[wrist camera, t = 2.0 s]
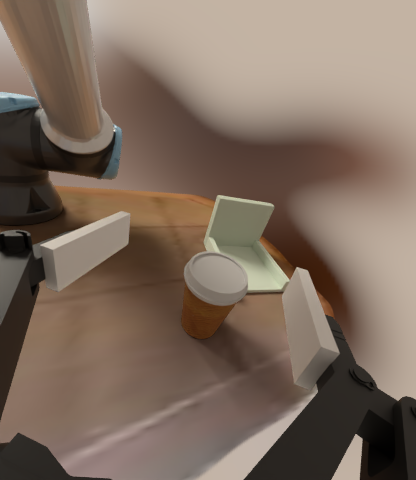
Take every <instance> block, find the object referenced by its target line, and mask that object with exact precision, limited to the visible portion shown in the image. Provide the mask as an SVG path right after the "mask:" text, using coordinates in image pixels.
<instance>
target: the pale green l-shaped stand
mask: <svg viewBox="0 0 416 480" xmlns="http://www.w3.org/2000/svg"><path fill="white" fill-rule="evenodd" d="M273 209H274V206H273V205H272V204H271V203H265V202H258V201H252V200H245V199H239V198H233V197H227V196H220V195H218V196H217V199H216V203H215V206H214V209H213V213H212V216H211V219H210V223H209V226H208V229H207V233H206V236H205V239H204V245H205V247H206V250H207V251H213V252H219V253H222V254H225V255H227V256H230V257H231V258H233V259H235V260H236V261H237V262H239V263H240V264H241V265H242V266H243V268H244V269H245V271H246V273H247V276H248V290H247V293H254V292H284V291H285V290H286V288H287V286H288V284H289V282H290V280H289V279H288V277H287V276H286V275H285V274H284V272H283V271H282V270H281V268H280V267H279V266H278V265H277V263H276V262H275V261H274V259H273V258H272V257H271V256H270V254H269V253H268V252H267V250H266V249H265V248H264V247H263V245H262V244H261V243H260V241H259V239H260V237H261V235H262V233H263V231H264V228H265V226H266V224H267V222H268V220H269V217H270V216H271V213H272V211H273Z"/></svg>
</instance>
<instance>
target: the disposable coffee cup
mask: <svg viewBox="0 0 416 480" xmlns="http://www.w3.org/2000/svg"><path fill="white" fill-rule="evenodd" d="M184 278H185V290H184V300H183V310H182V318H181V322H182V326H183V328H184V330H185V331H186V332H187V333H188V334H189V335H190V336H192V337H194V338H198V339H206V338H209V337H211V336H212V335H213V334H214V333H215V331H216V330H217V329H218V327H219V326H220V325H221V323H222V322H223V321H224V319H225V318H226V316H227V315H228V314H229V312H230V311H231V310H232V308H233V307H234V305H235V304H236V303H237V302H238V301H240V300H241V299H242V298H243V297H244V296H245V295H246V293H247V290H248V276H247V273H246V271H245V269H244V268H243V266H242V265H241V264H240V263H239V262H237V261H236V260H235V259H233V258H231V257H230V256H227V255H225V254H222V253H219V252H213V251H206V252H201V253H198V254H196V255H195V256H193V257H192V259H191V260H190V261H189V262H188V263H187V264H186V266H185V268H184Z"/></svg>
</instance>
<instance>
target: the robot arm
mask: <svg viewBox="0 0 416 480" xmlns="http://www.w3.org/2000/svg"><path fill="white" fill-rule="evenodd" d="M0 21H1V23H2V25H3V28H4V30H5V32H6V33H7V36H8V38H9V40H10V42H11V44H12V46H13V48H14V50H15V52H16V54H17V56H18V58H19V60H20V62H21V64H22V66H23V69H24V71H25V73H26V75H27V77H28V79H29V81H30V83H31V85H32V87H33V89H34V91H35V93H36V95H37V97H38V99H39V101H40V103H41V105H42V108H43V109H42V108H39V103H38V102H37V100H36V98H34V97H30V96H26V95H20V94H13V93H5V92H0V224H3V225H28V224H35V223H40V222H44V221H47V220H50V219H53V218H55V217H56V216H58V215H59V214H60V213H61V212H62V209H63V207H62V201H61V198H60V196H59V194H58V192H57V191H56V189H55V187H54V185H53V184H52V182H51V180H50V178H49V174H48V171H54V172H62V173H67V174H75V175H80V176H87V177H93V178H97V179H109V180H112V179H114V178H116V176H117V173H118V168H119V160H120V154H121V145H122V130H121V128H120V127H117V126H116V125H113V123H112V121H111V119H110V117H109V115H108V114H107V113H106V111H105V110H104V109H103V108H102V104H101V98H100V91H99V83H98V77H97V70H96V63H95V56H94V49H93V42H92V36H91V28H90V21H89V14H88V8H87V0H0ZM129 226H130V214H129V213H126V212H123V211H121V212H118V213H116V214H113V215H111V216H109V217H106V218H104V219H101V220H99V221H97V222H94V223H92V224H89V225H87V226H84V227H82V228H80V229H77V230H73V231H67V232H64V233H62V234H59V236H58V235H57V236H55V237H53V238H50V239H47V240H45V241H42V242H40V243H37V244H35V245H32V241H31V235H30V233H29V232H27V231H23V230H9V231H4V232H1V233H0V420H1V416H2V413H3V410H4V406H5V403H6V399H7V396H8V393H9V389H10V386H11V383H12V379H13V376H14V372H15V369H16V366H17V362H18V359H19V356H20V352H21V349H22V345H23V342H24V339H25V335H26V332H27V329H28V325H29V322H30V318H31V315H32V312H33V308H34V305H35V302H36V298H37V295H38V291H39V282H41V281H43V280H44V279H45V281H46V288H49V289H51V290H54V291H56V292H59V291H61V290H62V289H64V288H65V287H66V286H68V285H69V284H71V283H72V282H74V281H75V280H77V279H78V278H80V277H81V276H83V275H84V274H85V273H87V272H88V271H90V270H91V269H93V268H94V267H96V266H97V265H99V264H100V263H102V262H103V261H104V260H106V259H107V258H109V257H110V256H112V255H113V254H115V253H116V252H118V251H119V250H121V249H122V248H123V247H125V246H126V245H128V242H129ZM282 300H283V307H284V314H285V321H286V329H287V336H288V343H289V350H290V357H291V365H292V372H293V379H294V384H295V385H298V386H300V387H303V388H305V389H308V390H311V389H312V388H313V387H314V385H315V384H317V388H318V393H317V394H316V395H315V397H314V398H313V399H312V400H311V401H310V402H309V404H308V405H307V406H306V407H305V409H304V410H303V411H302V412H301V413H300V414H299V415H298V417H297V418H296V419H295V420H294V421H293V423H292V424H291V425H290V426H289V427H288V428H287V430H286V431H285V432H284V433H283V434H282V435H281V437H280V438H279V439H278V440H277V441H276V443H275V444H274V445H273V446H272V447H271V448H270V449H269V451H268V452H267V453H266V454H265V455H264V456H263V458H262V459H261V460H260V461H259V462H258V464H257V465H256V466H255V467H254V468H253V470H252V471H251V472H250V473H249V474H248V475H247V477H246V478H245V479H244V480H331V479H332V477H333V475H334V473H335V472H336V470H337V468H338V466H339V464H340V462H341V460H342V458H343V456H344V455H345V453H346V450H347V449H348V447H349V445H350V443H351V441H352V439H353V438H354V436H355V434H357V435H358V436H360V437H361V438H363V443H362V456H361V471H360V480H416V400H415V399H413V398H411V397H407V396H406V397H402V398H401V399H400V400H399V401H397V400H395V399H394V398H392V397H390V396H389V395H387V394H386V393H384V392H383V391H381V390H379V389H378V388H377V385H376V383H375V381H374V380H373V378H372V377H371V376H370V375H369V374H368V373H367V372H366V371H365V370H364V369H363V368H362V367H360V366H358V365H357V364H356V361H355V359H354V357H353V355H352V353H351V350H350V348H349V346H348V344H347V342H346V341H345V340H346V339H345V337H344V335H343V333H342V330H341V328H340V326H339V324H338V323H337V322H336V321H335V320H334V318H333V317H331V316H328V315H325V314H324V311H323V309H322V306H321V304H320V301H319V298H318V296H317V293H316V291H315V288H314V285H313V283H312V280H311V278H310V275H309V273H308V271H307V270H304V269H301V268H298V267H297V268H296V270H295V272H294V274H293V276H292V278H291V280H290V282H289V284H288V286H287V288H286V290H285V292H284V293H283V295H282ZM0 480H112V479H107V478H89V477H73V476H70V475H68V474H67V473H66V471H65V470H64V469H63V467H62V466H61V465H60V464H59V462H58V461H57V460H56V458H55V457H54V456H53V454H52V453H51V452H50V451H49V449H48V448H47V447H46V446H44V445H42V444H40V443H38V442H36V441H34V440H32V439H30V438H28V437H26V436H24V435H22V434H20V433H17V435H16V436H15V437H14V438H13V439H12V440H11V441H10V443H0Z"/></svg>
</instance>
